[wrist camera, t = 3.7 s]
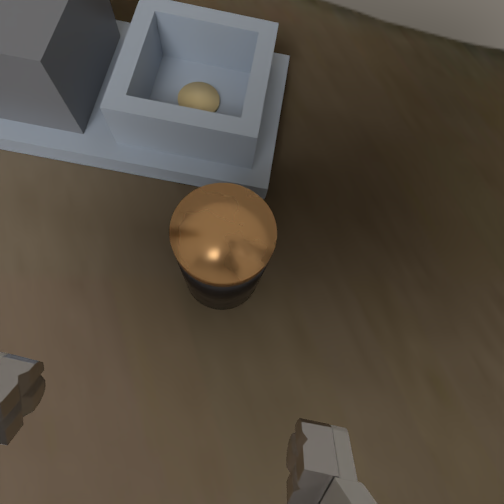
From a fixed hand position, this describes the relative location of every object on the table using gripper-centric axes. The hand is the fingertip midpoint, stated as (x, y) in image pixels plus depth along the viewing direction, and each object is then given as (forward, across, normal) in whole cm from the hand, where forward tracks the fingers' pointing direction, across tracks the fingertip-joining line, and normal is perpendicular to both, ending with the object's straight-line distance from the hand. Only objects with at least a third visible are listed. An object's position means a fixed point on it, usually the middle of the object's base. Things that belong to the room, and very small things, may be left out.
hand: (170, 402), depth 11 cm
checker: (+20, +8, -6) cm, 23 cm away
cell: (+12, 0, +2) cm, 13 cm away
